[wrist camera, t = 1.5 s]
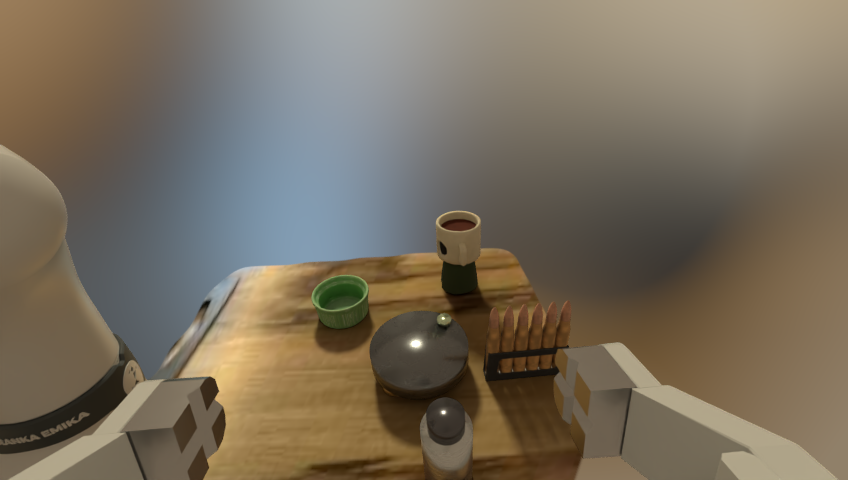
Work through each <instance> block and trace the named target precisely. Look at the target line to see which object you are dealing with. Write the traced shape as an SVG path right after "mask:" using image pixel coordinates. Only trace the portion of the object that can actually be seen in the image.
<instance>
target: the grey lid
mask: <svg viewBox="0 0 848 480" xmlns="http://www.w3.org/2000/svg"><path fill="white" fill-rule="evenodd" d="M370 359H371V364H372V369H373V373H374V376H375V378H376V380H377V381H378V382H379V384H380V385H381V386H382V387H383V390H384V392H385V393H386V394H388V395H390V396H399V397H402V398H406V399H428V398H433V397H436V396H439V395H441V394H444V393H446V392H447V391H449V390H450V389H452V388H453V387H454V386H456V385H457V384H458V383H459V381H460V380H461V379H462V377H463V376H464V375H465V373H466V370H467V366H468V340H467V336H466V334H465V332H464V330H463V329H462V327H461V326H460V325H459V324H458V323H457V322H456V321H454V320H453V319H451V316H450V315H449V314H445V313H444V314H440V313H436V312H431V311H414V312H408V313H404V314H401V315H398V316H396V317H394V318H392V319H390V320H389V321H387V322H386V323H384V324H383V325H382V326H381V327H380V328H379V329H378V330H377V332H376V333H375V335H374V336H373V338H372V341H371V344H370Z"/></svg>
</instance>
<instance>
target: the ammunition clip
mask: <svg viewBox="0 0 848 480" xmlns="http://www.w3.org/2000/svg"><path fill="white" fill-rule="evenodd" d="M542 318H543V313H542V307H541V304H540V303H538V304H537V305H536V307H535V309H534V312H533V316H532V321H531V326H530V328H529V331H528V310H527V307H526V305H525V304H524V305H523V306H522V308H521V310H520V313H519V317H518V323H517V327H516V330H515V339H514V317H513V310H512V308H511V306H508V308H507V310H506V312H505V315H504V322H503V328H502V331H501V341H500V331H499V316H498V311H497V309H496V307H494V308H493V309H492V311H491V314H490V318H489V327H488V331H487V343H486V349H485V359H484V368H483V371H484V375H485V379H486V381H495V380H505V379H515V378H526V377H536V376H546V375H557V374H558V373H559V372H560V371H559V369H558V367H557V366H556V364H555V358H556V353H557V350H558V349H562V348H569V346H568V345H567V344H568V339H569V333H570V318H571V305H570V302H569V301H566V302H565V304H564V306H563V308H562V311H561V316H560V319H559V322H558V325H557V328H556V318H557V309H556V304H555V302H552V303H551V305H550V306H549V309H548V312H547V316H546V320H545V324H544V326H543V330H542ZM513 347H514V350H513ZM499 349H500V353H499ZM512 359H513V360H512Z"/></svg>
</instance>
